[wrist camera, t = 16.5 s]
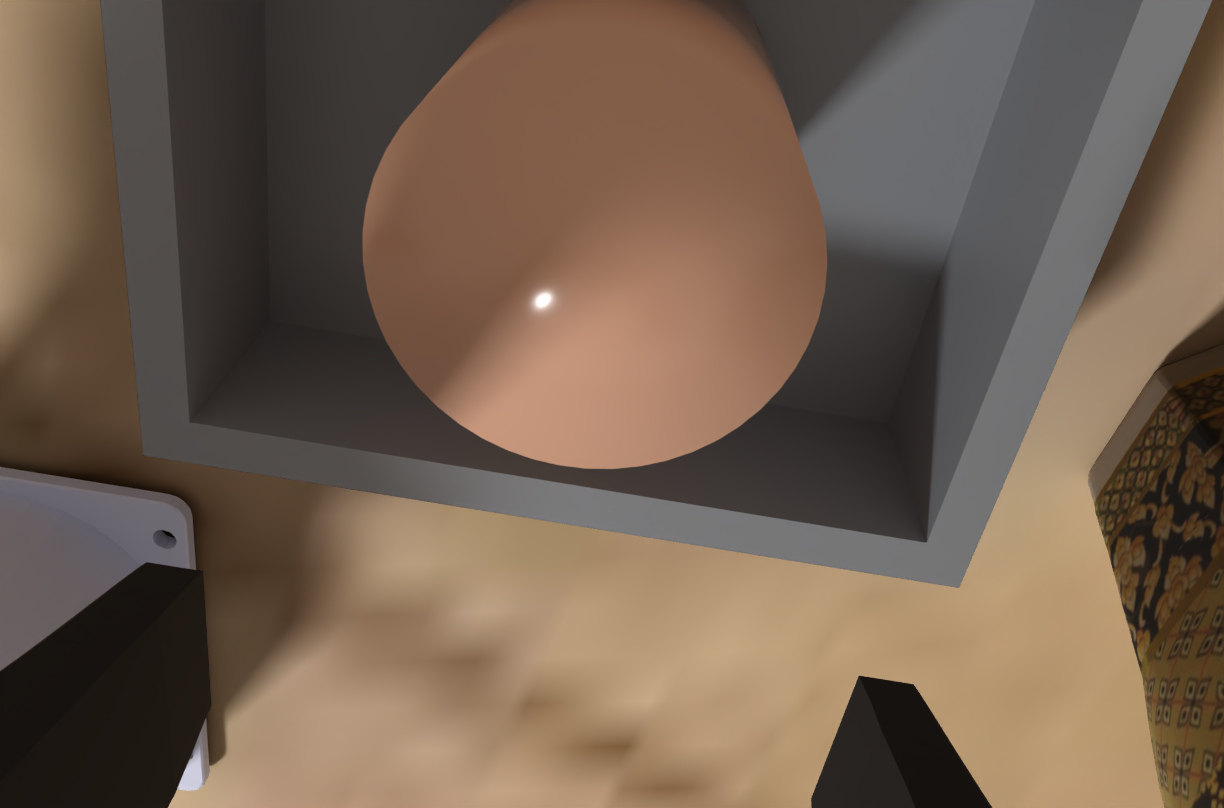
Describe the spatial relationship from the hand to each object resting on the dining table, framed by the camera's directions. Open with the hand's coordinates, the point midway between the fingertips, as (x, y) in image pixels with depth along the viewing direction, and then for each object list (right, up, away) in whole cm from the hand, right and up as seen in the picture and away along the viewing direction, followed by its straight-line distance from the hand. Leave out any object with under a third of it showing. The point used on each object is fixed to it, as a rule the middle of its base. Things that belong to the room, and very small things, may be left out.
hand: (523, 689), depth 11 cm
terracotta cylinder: (+1, +8, +6) cm, 10 cm away
